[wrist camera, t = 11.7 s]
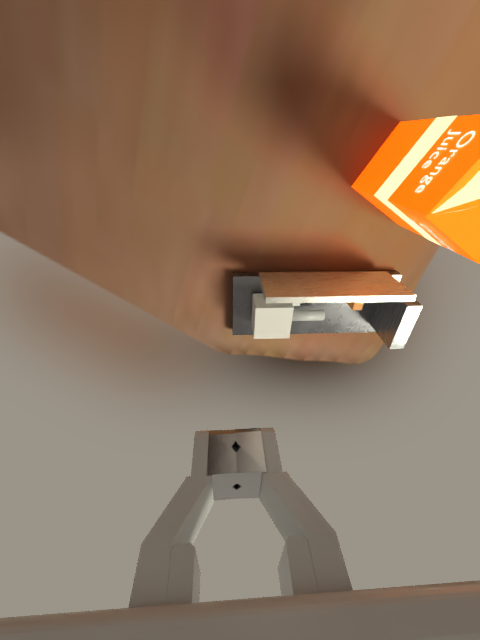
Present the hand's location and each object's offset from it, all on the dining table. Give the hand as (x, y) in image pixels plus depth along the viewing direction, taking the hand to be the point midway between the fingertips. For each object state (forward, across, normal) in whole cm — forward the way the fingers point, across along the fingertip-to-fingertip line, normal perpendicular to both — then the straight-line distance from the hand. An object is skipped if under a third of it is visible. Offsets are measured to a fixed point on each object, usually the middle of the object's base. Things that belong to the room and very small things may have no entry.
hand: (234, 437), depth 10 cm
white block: (+27, -9, +10) cm, 30 cm away
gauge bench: (+29, -13, +11) cm, 34 cm away
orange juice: (+29, -21, -6) cm, 37 cm away
